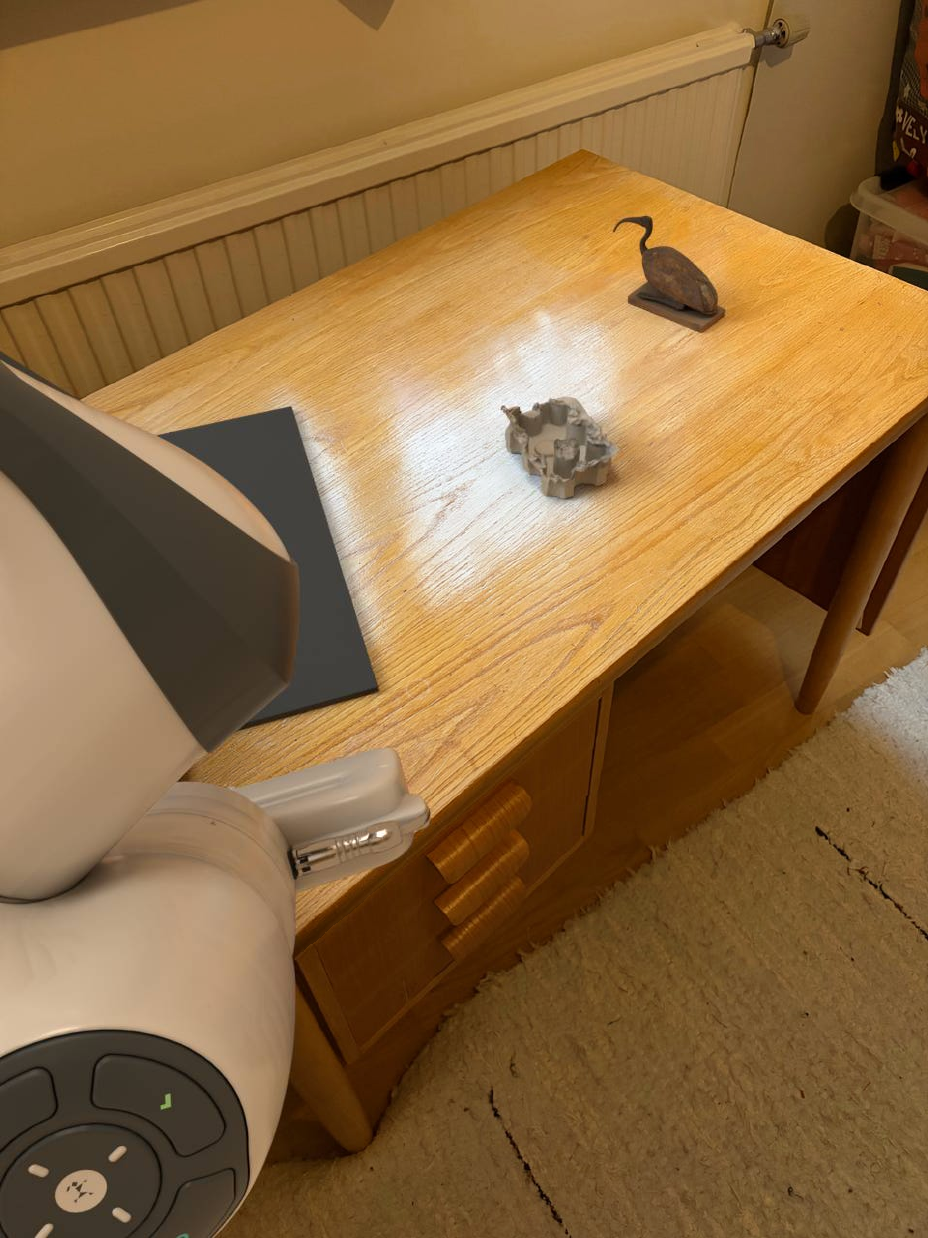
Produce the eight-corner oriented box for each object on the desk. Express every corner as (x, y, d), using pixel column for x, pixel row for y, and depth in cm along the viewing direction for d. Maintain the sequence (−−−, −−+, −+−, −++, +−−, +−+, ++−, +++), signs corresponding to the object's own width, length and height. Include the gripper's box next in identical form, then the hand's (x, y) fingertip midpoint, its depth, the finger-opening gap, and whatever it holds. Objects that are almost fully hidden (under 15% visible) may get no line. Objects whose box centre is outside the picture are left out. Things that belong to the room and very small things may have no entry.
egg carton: (496, 438, 83) (495, 402, 80) (566, 417, 85) (568, 381, 82) (546, 507, 77) (547, 471, 74) (621, 482, 79) (626, 446, 75)
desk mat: (103, 767, 62) (100, 762, 61) (86, 455, 84) (84, 450, 83) (379, 691, 65) (378, 686, 64) (292, 410, 87) (291, 405, 87)
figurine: (596, 289, 99) (602, 213, 93) (619, 273, 101) (627, 198, 95) (702, 333, 93) (717, 255, 86) (725, 315, 95) (741, 237, 88)
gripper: (418, 750, 35) (384, 698, 49) (-123, 908, 32) (2, 805, 45) (456, 897, 36) (412, 805, 49) (-70, 1066, 32) (38, 918, 46)
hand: (213, 806), depth 47 cm, fingers closed
